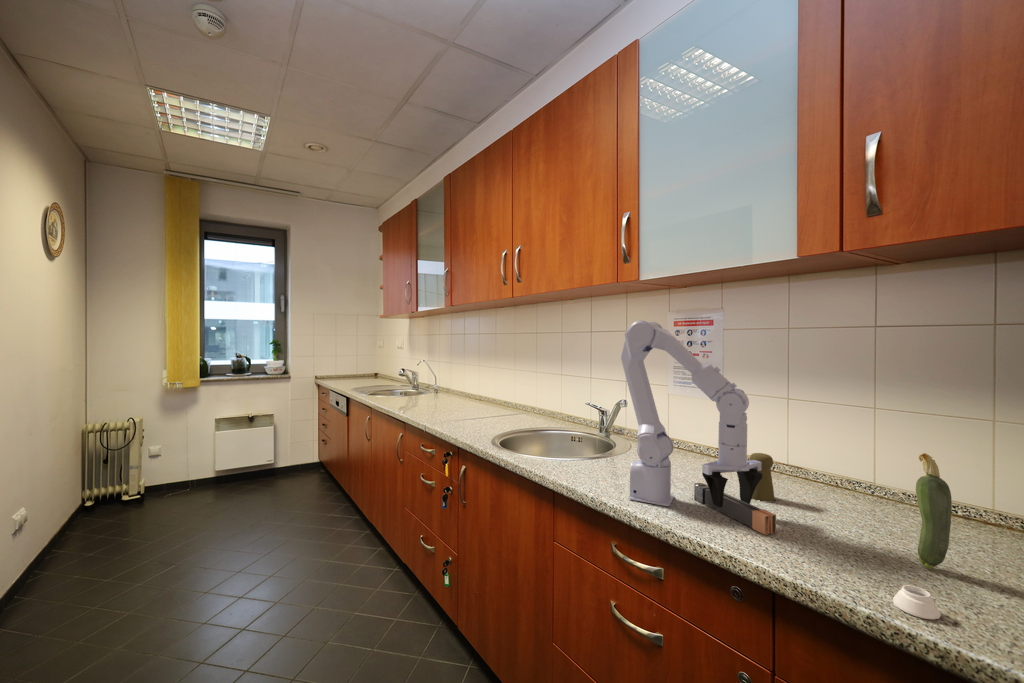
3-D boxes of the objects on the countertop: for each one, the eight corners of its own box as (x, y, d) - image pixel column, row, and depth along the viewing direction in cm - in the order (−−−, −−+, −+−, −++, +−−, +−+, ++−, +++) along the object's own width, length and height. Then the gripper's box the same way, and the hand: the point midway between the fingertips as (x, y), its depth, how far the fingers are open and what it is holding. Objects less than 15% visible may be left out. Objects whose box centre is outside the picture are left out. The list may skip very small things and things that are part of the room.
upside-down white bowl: (888, 608, 64) (934, 626, 60) (888, 587, 64) (934, 605, 60) (899, 597, 67) (944, 614, 62) (899, 578, 67) (944, 593, 62)
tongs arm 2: (709, 503, 104) (710, 488, 104) (713, 503, 104) (714, 487, 104) (771, 533, 88) (771, 515, 88) (776, 532, 88) (776, 514, 88)
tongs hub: (691, 498, 108) (691, 483, 108) (701, 497, 108) (701, 482, 108) (702, 504, 104) (702, 488, 104) (712, 503, 105) (712, 487, 105)
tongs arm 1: (704, 504, 103) (704, 488, 103) (708, 503, 104) (708, 488, 104) (764, 534, 87) (764, 516, 87) (769, 533, 88) (769, 515, 88)
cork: (778, 502, 106) (779, 457, 106) (751, 500, 107) (752, 456, 107) (769, 494, 111) (769, 451, 112) (743, 492, 113) (744, 450, 113)
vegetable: (949, 570, 74) (950, 453, 75) (952, 580, 71) (953, 458, 71) (914, 561, 77) (915, 449, 77) (915, 570, 74) (916, 453, 74)
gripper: (719, 449, 91) (718, 514, 91) (773, 445, 95) (772, 507, 95) (696, 441, 98) (695, 502, 98) (747, 438, 102) (746, 496, 102)
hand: (731, 504), depth 97 cm, fingers open, 7 cm apart
